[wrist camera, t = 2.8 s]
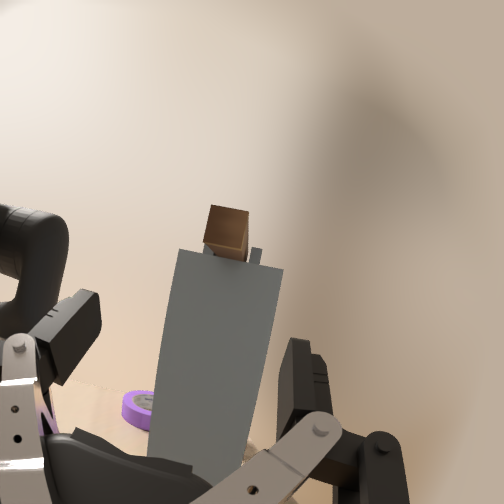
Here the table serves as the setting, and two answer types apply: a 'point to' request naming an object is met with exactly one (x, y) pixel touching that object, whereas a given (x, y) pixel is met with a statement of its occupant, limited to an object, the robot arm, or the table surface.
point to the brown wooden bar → (227, 233)
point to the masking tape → (138, 408)
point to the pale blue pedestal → (212, 360)
